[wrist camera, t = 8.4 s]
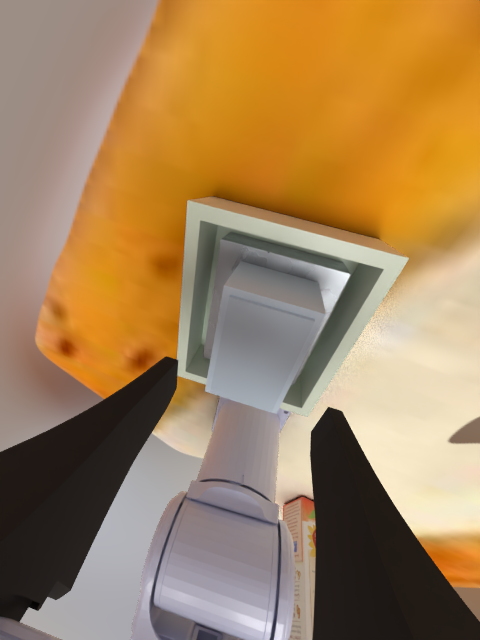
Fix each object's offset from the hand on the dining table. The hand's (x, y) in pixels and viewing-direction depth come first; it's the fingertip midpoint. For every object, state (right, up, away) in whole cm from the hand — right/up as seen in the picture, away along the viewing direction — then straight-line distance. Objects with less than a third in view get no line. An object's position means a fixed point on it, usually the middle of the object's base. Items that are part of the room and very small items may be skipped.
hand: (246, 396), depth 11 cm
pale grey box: (+1, +3, +5) cm, 7 cm away
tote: (+2, +5, +8) cm, 10 cm away
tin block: (+2, +5, +8) cm, 9 cm away
